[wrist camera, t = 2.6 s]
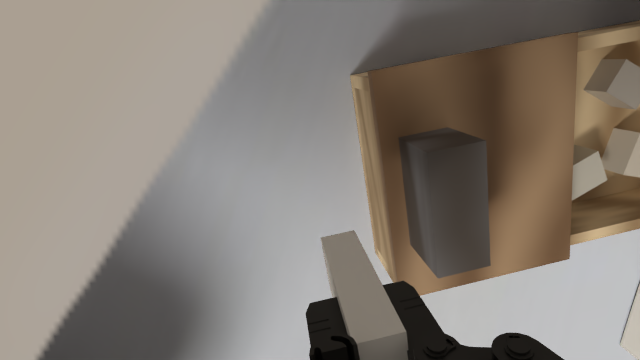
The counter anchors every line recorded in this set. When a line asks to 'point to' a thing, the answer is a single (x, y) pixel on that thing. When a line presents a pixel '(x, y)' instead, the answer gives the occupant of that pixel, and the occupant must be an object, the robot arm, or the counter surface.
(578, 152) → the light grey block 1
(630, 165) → the light grey block
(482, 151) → the lid
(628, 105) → the light grey block
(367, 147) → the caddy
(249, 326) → the counter surface
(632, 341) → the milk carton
